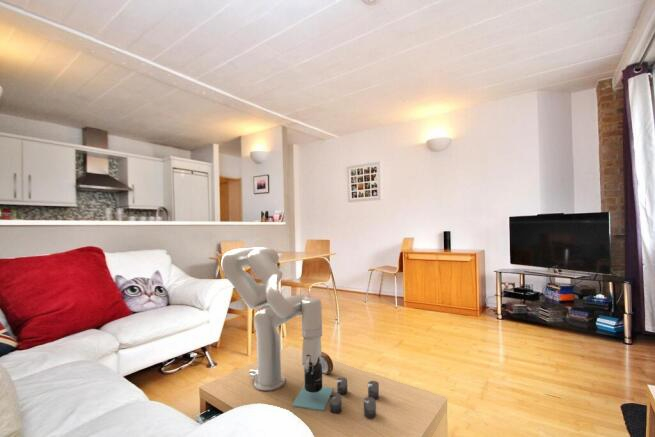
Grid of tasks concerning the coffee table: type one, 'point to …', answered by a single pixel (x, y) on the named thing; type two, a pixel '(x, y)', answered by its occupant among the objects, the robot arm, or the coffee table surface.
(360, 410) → the coffee table surface
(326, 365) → the tin
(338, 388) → the cylinder
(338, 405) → the cylinder
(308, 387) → the supplement bottle
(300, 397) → the teal board
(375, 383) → the spacer back right
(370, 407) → the cylinder
